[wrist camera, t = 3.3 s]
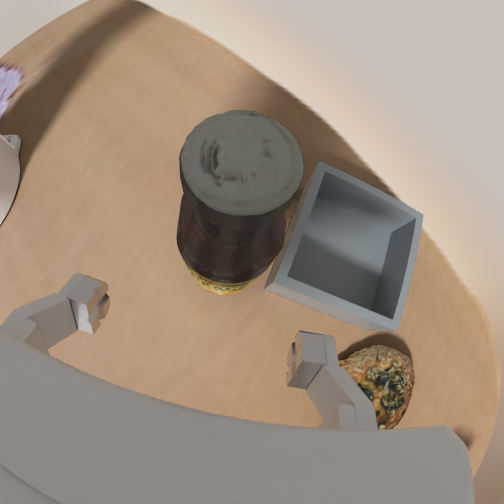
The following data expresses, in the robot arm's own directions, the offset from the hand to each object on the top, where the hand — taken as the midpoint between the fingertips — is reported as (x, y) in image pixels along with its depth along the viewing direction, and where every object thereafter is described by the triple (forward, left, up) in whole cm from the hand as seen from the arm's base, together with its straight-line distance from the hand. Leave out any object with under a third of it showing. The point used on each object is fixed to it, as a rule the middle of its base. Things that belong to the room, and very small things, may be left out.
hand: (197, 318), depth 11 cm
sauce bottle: (-1, +5, -16) cm, 17 cm away
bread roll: (+18, -2, -16) cm, 24 cm away
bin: (+9, +10, -16) cm, 21 cm away
